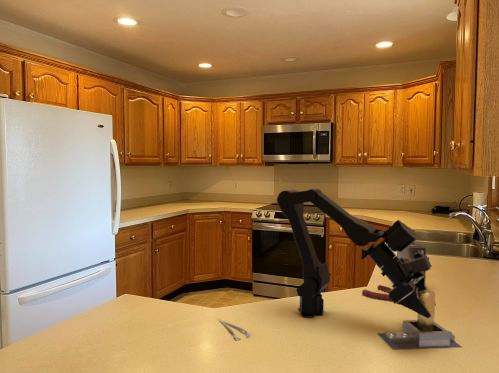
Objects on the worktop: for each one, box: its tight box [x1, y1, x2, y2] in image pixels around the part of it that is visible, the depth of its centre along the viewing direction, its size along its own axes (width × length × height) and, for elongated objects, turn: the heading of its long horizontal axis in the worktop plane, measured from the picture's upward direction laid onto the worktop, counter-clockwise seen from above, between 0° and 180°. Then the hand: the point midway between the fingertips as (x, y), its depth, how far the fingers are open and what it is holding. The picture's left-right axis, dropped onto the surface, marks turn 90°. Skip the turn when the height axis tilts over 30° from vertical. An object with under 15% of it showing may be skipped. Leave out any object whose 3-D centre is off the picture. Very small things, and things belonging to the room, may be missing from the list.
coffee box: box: [396, 244, 427, 282], centre depth 138 cm, size 9×6×16 cm
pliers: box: [361, 284, 398, 305], centre depth 125 cm, size 12×20×3 cm, turn 36°
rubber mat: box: [376, 332, 463, 351], centre depth 93 cm, size 18×9×1 cm, turn 95°
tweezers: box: [217, 319, 252, 341], centre depth 102 cm, size 17×5×2 cm, turn 32°
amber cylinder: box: [416, 289, 436, 332], centre depth 93 cm, size 4×4×12 cm
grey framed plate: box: [385, 319, 456, 348], centre depth 93 cm, size 17×8×4 cm, turn 95°
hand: (432, 311), depth 93 cm, fingers open, 9 cm apart
